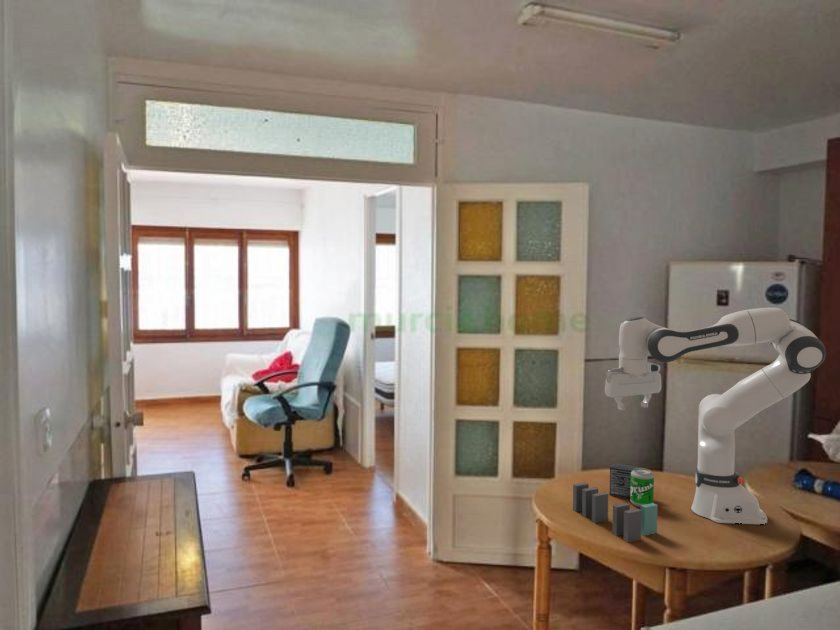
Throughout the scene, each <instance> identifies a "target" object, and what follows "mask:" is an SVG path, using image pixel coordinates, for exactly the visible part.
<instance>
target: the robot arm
mask: <svg viewBox="0 0 840 630" xmlns="http://www.w3.org/2000/svg"><path fill="white" fill-rule="evenodd" d="M618 332H619V333H618V346H619V350H620V351H619V354H618V367H616V368H615V367H614V368H613V367H612V368H609V370H608V371H607V372H606V374H605V376H606V377H605V382H604V394H605V396H606V397H608V398H614V401H615V403H616V404H617V410H619V411H624V410H625V409H626V408H625V407H626V405H625V404H623V402H622V400H623V398H624V397H630V396H631V397H633V396H640V395H643V400H642V401H640V407H641V408H643V409H644V408H648V407H649V403H650V400H651V399H652V394H660V392H661V391H662V375H661V373H660V371H661V365H660V364H656V363H653V362H650V361H648V357H649V356H651V357H652V358H653V359H655V360H656V361H658V362H662V363H671V362H673V361H676V360H677V359H679V358H681V357H682V356H684V355H686V354H688V353H691V352H696V351H701V350H706V349H711V348H718V347H746V346H752V345H758V344H762V343H764V344H765V343H770V345H772V347H773V348H774V349H775V351H776V353H778V357H777V358H776V359H775V361H774V360H773V362H771V363H770V364H768V365H766V366H764V367H763V368H761V369H759V370H757V371H756V372H753V373H751V374H750V375H748V376H746V377H745V378H742V379H741V380H739V381H738V382H737V383H736V384H734V385H733V386H732V387H731V388H729V389H728V390H726V391H725V392H723V393H722V394H718V393H711V394H709V395H706V396H705V397H703V398H702V399H701V401H700V402H699V405H698V431H697V432H698V433H697V434H698V435H697V437H698V438H697V441H698V442H697V467H696V468H695V476H694V477H695V483H694V484H695V485H696V486H695V487H696V488H695V493H694V498H693V502H692V504H691V507H690V508H691V509H690V510H691V511H692V512H693V513H695V514H696V515H698V516H699V517H700V516H701V517H704V518H706V519H709V520H711V521H713V522H715V523H717V524H718V523H719V524H735V523H739V525H760V524H764V525H766V524H768V516H767V514H766V512H764V510H762V509H761V508H760V505H759V501H758V498H757V496H755V494H753V493H752V492H751V491H750V490H748V489H747V488H746V487H744V486H743V485H744V484H745V482H746V481H745V479H744V478H743V477H742V476H741V475H740V474H739V473H738V472H737V471H735V457H736V455H735V453H736V446H735V445H736V443H735V442H736V441H735V437H736V436H735V430H736V429H737V428H739V427H741V426H742V425H743V424H745V423H746V422H748V421H749V420H750V419H752V418H754V417H755V416H756V415H757V414H758V413H760V412H762V411H764V410H766V409H767V408H769V407H771V406H773V405H775V404H777V403H778V402H780V401H781V400H783V399H786V398H788V397H789V396H791V395H792V394H794V393H795V392H797V391H798V390H800V389H801V388H802V387H803V386H805V385H806V384H807V383H809V381H810V379H811V376H812V374H811V373H813V372H814V371H815V369H817V368H818V367H820V366H821V365H822V364H823V363H824V361H825V359H826V356H827V350H826V346H825V345H824V343H823V342H822V341H821V340H820V339H819V338H818V337H817V336H816V334H815V333H813V331H811V330H810V329H808V328H807V327H806V326H804V324H802V323H801V322H799V321H798V320H794V319H791V318H789V315H788V314H787V312H786V311H785V310H783V309H782V308H779V307H757V308H749V309H743V310H739V311H735V312H732V313H729V314H726V315H723V316H722V317H721V318H720V319H719V320H718V322H716V323H715V324H712V325H710V326H708V327H703V328H698V329H692V330H687V331H675V330H672V329H670V328H667V327H664V326H661V325H658V324H656V323H653V322H652V321H649V320H648V319H647V318H646V317H643V316H636V317H630V318H626V319H625V320H622V322H621V323H620V326H619V331H618ZM740 523H742V524H740ZM765 523H766V524H765Z"/></svg>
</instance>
